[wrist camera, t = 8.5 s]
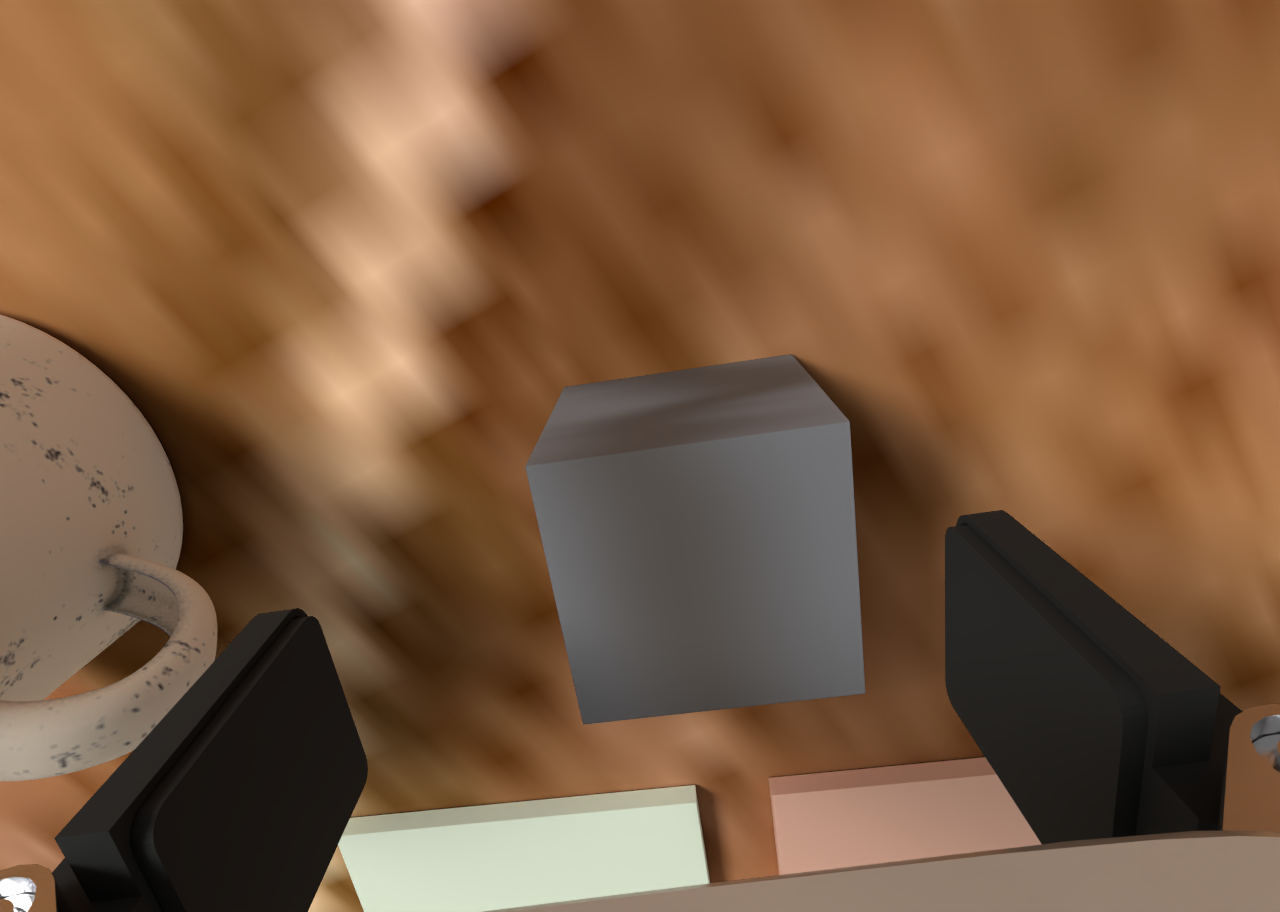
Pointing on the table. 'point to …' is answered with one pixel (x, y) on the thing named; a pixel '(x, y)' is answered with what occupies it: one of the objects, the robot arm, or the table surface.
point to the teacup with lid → (84, 562)
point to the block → (701, 540)
